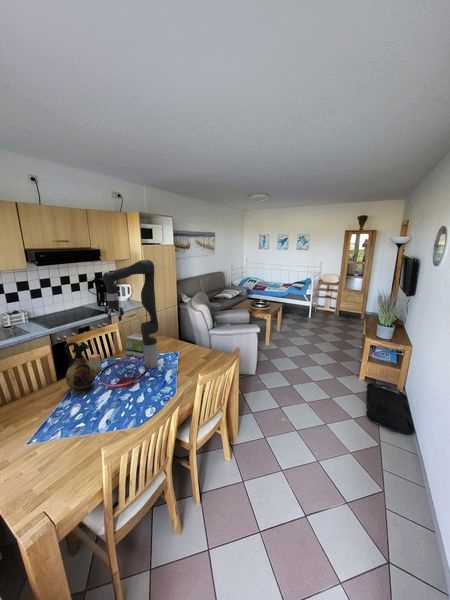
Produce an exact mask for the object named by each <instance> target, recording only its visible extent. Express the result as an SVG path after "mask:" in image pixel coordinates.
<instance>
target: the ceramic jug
mask: <svg viewBox="0 0 450 600" xmlns="http://www.w3.org/2000/svg"><path fill="white" fill-rule="evenodd" d="M72 346H74V348H72V351H71V352H72V353H73V354H75V355H74V357H73V356H72V354H71V352H70V350H69V348H70V347H72ZM88 349H90V345H88V344H87V343H85V342H82V343H81V344H78V342H76V341H69V342H66V345H65V347H64V351H65V353H66V354H65V355H67V357H68V359H69V363H68V368H67V371H66V374H65V383H66V385H67V386H68V387H69V388H70V390H71V389H72V392H74V393H77V394H80V393H82V394H83V393H87V392H88V391H89V390H91V389H92V385H93V383H94V382H95V381H96V377H97V375H96V372H95V369H94V367H93V365H92V364H91V363H90V360H89V359H87V358H86V357H85V356H84V355H83V352H84V351H86V350H88Z"/></svg>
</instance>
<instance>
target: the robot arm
mask: <svg viewBox="0 0 450 600" xmlns="http://www.w3.org/2000/svg"><path fill="white" fill-rule="evenodd" d="M133 275H144V282H143V286H142V288H141V291H140V301H141V305H142V307H143V308H144V309H145V311H147V313H148V315H149V319H150V320H148V321H144V322H141V325H140V330H141V331H140V332H141V335H142V340H143V348H144V357H143V358H144V359H143V360H144V367H145V366H146V367H147V368H146V367H145V368H146V369H150V370H152V369H155V368H158V367H159V356H158V343H157V342H158V341H157V338H156V337H153V336H150V335H152V334H157V333H158V331H159V320H158V317H157V316H158V314H157V307H156V292H155V291H156V290H155V264H154V262H153V261H152V260H151V259H141V260H137V262H135V263H132V264H131V265H129V266H125V267H121V268H118V269H115V270H114V271H113V270H112V271H106V272H104V273H103V274H102V280H103V283H104V286H105V288H106V299H107V306H104V315H107V319H108V321H112V314H116V315H117V316H118V317H117V318H118V322H121V321H122V320H123V319H122V316H124V315H125V313H124V307H123V306H121V307H120V300H119V299H120V298H119V292H118V286H117V285H116V284H113V282H117V281H120V280H123V279H126V278H129V277H131V276H133Z"/></svg>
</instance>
